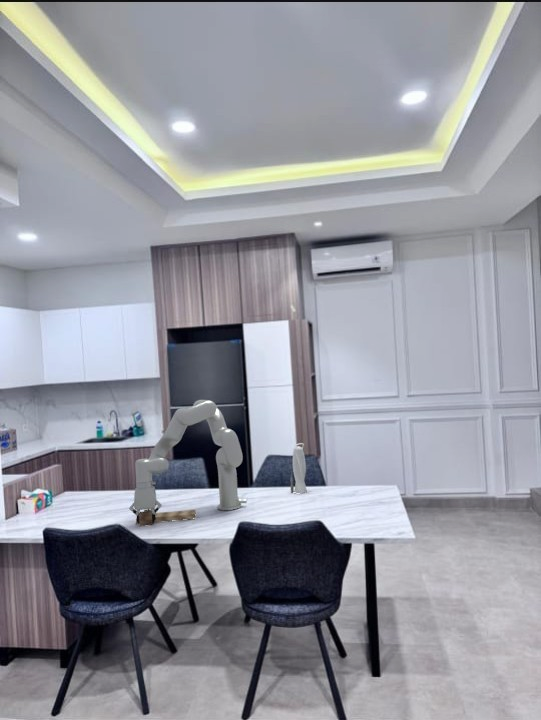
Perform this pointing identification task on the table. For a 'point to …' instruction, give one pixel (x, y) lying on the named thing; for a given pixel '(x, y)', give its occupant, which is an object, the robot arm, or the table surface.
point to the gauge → (145, 518)
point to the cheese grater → (298, 470)
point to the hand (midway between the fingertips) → (146, 522)
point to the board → (174, 515)
